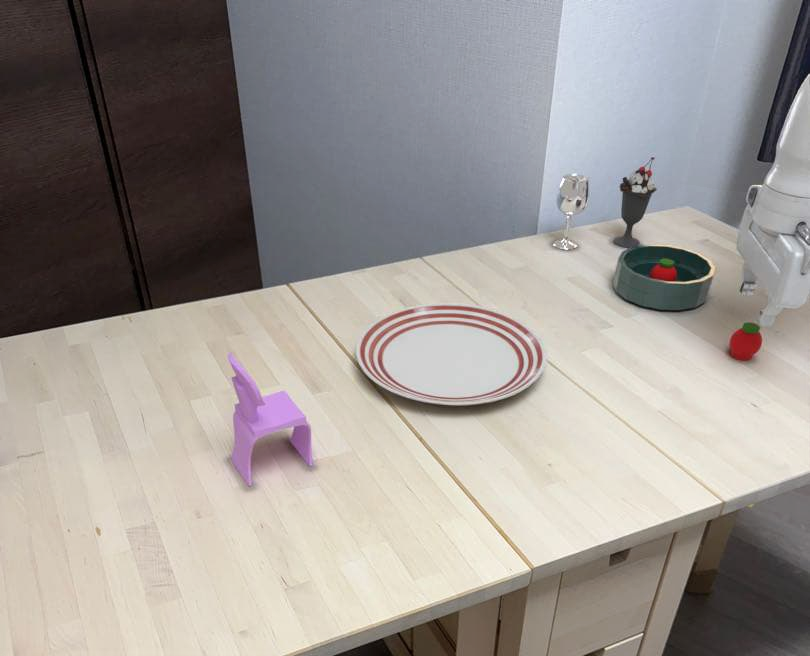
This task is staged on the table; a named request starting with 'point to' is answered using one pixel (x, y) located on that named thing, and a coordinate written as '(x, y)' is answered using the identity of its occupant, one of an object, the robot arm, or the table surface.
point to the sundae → (634, 202)
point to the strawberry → (664, 271)
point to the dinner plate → (451, 354)
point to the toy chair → (263, 420)
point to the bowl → (658, 293)
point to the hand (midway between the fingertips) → (754, 308)
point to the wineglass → (571, 202)
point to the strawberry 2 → (746, 341)
